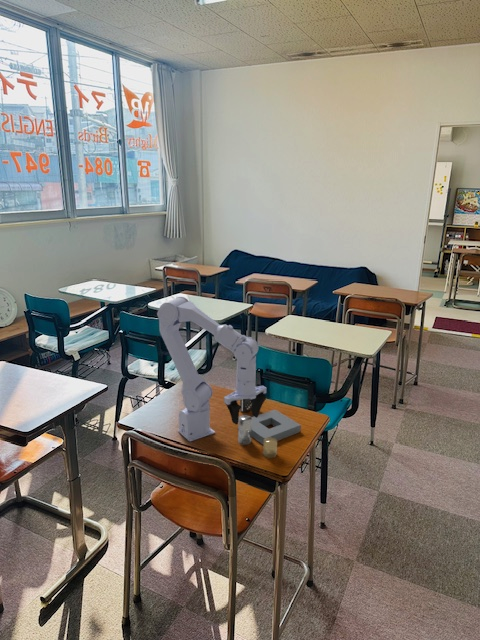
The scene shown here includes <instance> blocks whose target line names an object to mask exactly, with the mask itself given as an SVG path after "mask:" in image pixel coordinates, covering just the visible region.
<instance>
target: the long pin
mask: <svg viewBox="0 0 480 640" xmlns="http://www.w3.org/2000/svg"><path fill="white" fill-rule="evenodd" d="M251 417H252V416H250V415H248V414H243V415H239V420H238V424H237V425H238V426H237V427H238V431H237V433H238V434H237V437H238V439H237V442H238V443H239V444H240V445H243V446H246V445H250V444H251V443H252V437H251V424H252V418H251Z"/></svg>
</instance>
